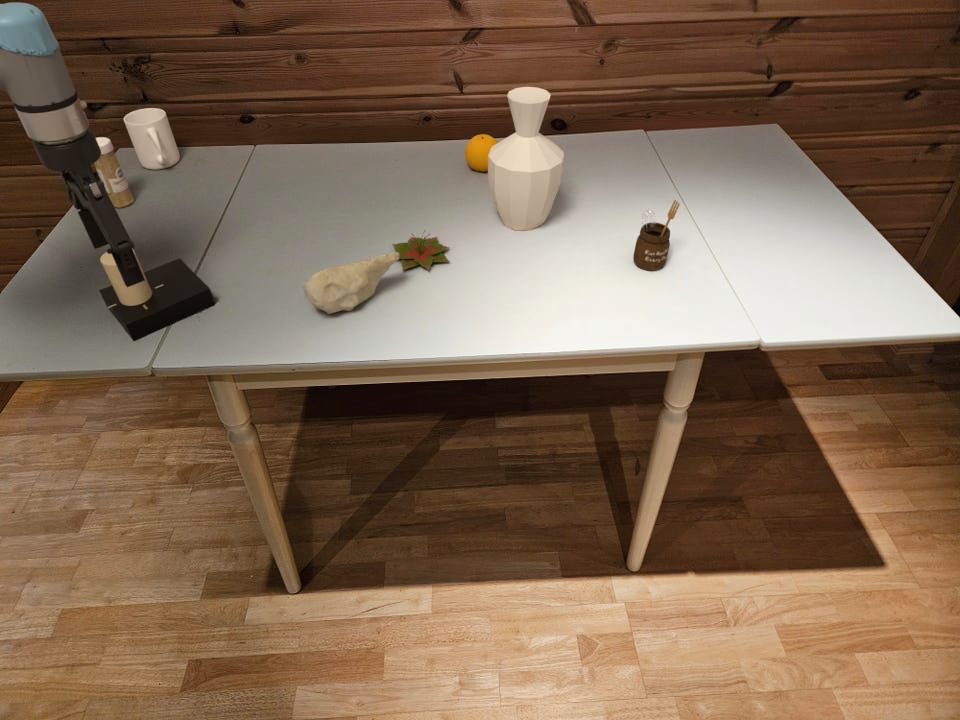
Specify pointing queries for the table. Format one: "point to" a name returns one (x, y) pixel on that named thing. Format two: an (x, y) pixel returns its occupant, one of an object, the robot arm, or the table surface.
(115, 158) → the sprinkles bottle
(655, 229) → the utensil holder
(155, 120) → the mug
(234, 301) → the table surface
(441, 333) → the table surface
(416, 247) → the lily flower
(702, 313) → the table surface
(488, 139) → the orange fruit
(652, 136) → the table surface
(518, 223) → the vase
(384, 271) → the chicken drumstick
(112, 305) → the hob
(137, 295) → the hob knob
